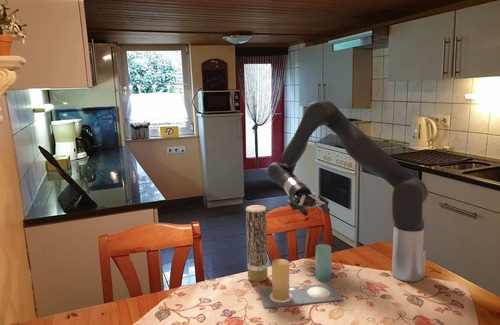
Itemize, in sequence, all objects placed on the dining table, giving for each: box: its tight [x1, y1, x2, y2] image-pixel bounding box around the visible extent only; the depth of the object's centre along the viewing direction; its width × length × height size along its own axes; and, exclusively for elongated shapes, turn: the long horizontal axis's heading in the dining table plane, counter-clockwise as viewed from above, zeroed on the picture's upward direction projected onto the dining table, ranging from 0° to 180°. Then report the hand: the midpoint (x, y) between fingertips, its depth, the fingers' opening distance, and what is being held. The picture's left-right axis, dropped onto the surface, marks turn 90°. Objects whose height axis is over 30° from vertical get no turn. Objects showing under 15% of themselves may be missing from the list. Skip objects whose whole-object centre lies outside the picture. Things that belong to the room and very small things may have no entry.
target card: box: [258, 282, 344, 309], centre depth 112 cm, size 24×10×1 cm, turn 98°
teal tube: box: [315, 243, 332, 282], centre depth 123 cm, size 5×5×11 cm
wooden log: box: [245, 204, 269, 283], centre depth 123 cm, size 7×7×25 cm
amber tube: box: [271, 258, 290, 301], centre depth 111 cm, size 5×5×11 cm
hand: (317, 213), depth 125 cm, fingers open, 8 cm apart
